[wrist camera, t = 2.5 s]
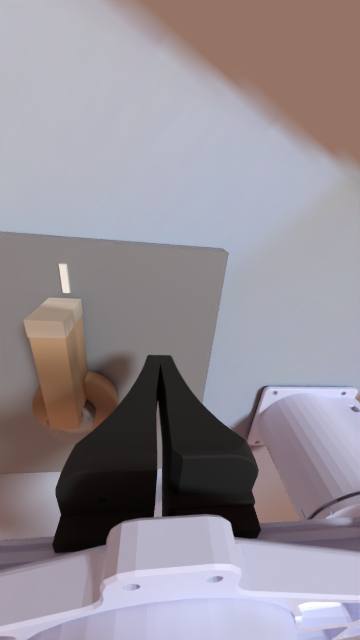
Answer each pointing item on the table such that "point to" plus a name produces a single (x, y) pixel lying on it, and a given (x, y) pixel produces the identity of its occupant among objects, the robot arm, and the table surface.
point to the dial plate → (101, 323)
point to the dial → (66, 372)
